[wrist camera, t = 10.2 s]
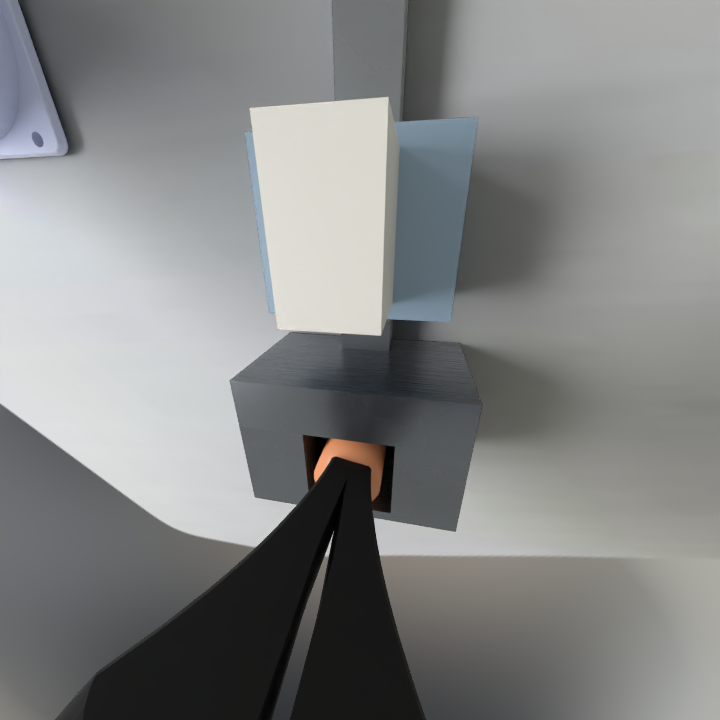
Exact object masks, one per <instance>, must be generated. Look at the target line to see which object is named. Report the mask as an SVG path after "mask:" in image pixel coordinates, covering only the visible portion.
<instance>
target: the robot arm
mask: <svg viewBox="0 0 720 720" xmlns="http://www.w3.org/2000/svg"><path fill="white" fill-rule="evenodd" d="M67 150H68V144H67V140H66V137H65V134H64V131H63V129H62V126H61V123H60V120H59V117H58V114H57V111H56V108H55V106H54V103H53V100H52V97H51V94H50V91H49V88H48V85H47V83H46V80H45V77H44V74H43V71H42V68H41V65H40V63H39V60H38V57H37V54H36V51H35V48H34V45H33V42H32V40H31V37H30V34H29V31H28V28H27V25H26V22H25V20H24V17H23V14H22V11H21V8H20V5H19V2H18V0H0V159H9V158H27V157H45V156H62V155H65V154H66V152H67ZM333 531H334V533H333ZM332 534H333V538H332V543H331V548H330V554H329V559H328V564H327V569H326V574H325V580H324V585H323V590H322V595H321V600H320V606H319V610H318V614H317V619H316V623H315V627H314V631H313V635H312V638H311V642H310V646H309V650H308V654H307V657H306V661H305V665H304V669H303V673H302V676H301V680H300V684H299V688H298V692H297V695H296V700H295V703H294V707H293V711H292V714H291V718H290V720H426V719H425V716H424V713H423V710H422V707H421V704H420V701H419V698H418V695H417V692H416V689H415V686H414V683H413V680H412V676H411V673H410V670H409V667H408V664H407V661H406V657H405V654H404V651H403V648H402V644H401V641H400V638H399V634H398V631H397V627H396V624H395V620H394V616H393V612H392V609H391V605H390V601H389V597H388V593H387V589H386V584H385V580H384V576H383V571H382V567H381V561H380V556H379V550H378V545H377V539H376V533H375V525H374V518H373V509H372V497H371V468H370V467H369V466H367V465H363V464H360V463H356V462H353V461H349V460H346V459H343V458H339V457H336V456H335V457H333V458H331V460H330V462H329V464H328V465H327V467H326V468H325V470H324V471H323V473H322V474H321V476H320V477H319V478H318V480H317V481H316V482H315V484H314V485H313V486H312V488H311V489H310V490H309V491H308V492H307V494H306V495H305V496H304V497H303V498H302V500H301V501H300V502H299V503H298V504H297V506H296V507H295V508H294V509H293V510H292V511H291V512H290V513H289V514H288V515H287V516H286V518H285V519H284V520H283V521H282V522H281V523H280V524H279V525H278V526H277V527H276V528H275V529H274V530H273V531H272V532H271V533H270V534H269V535H268V536H267V537H266V538H265V539H264V540H263V541H262V542H261V543H260V544H259V545H258V546H257V547H256V548H255V549H254V550H253V551H252V552H251V553H250V554H248V555H247V556H246V557H245V558H244V559H243V560H242V561H241V562H239V563H238V564H237V565H236V566H235V567H234V568H233V569H231V570H230V571H229V572H228V573H227V574H226V575H225V576H223V577H222V578H221V579H220V580H219V581H218V582H216V583H215V584H214V585H213V586H211V587H210V588H209V589H208V590H207V591H206V592H204V593H203V594H202V595H200V596H199V597H198V598H197V599H195V600H194V601H193V602H191V603H190V604H189V605H188V606H186V607H185V608H184V609H182V610H181V611H180V612H179V613H177V614H176V615H175V616H174V617H172V618H171V619H170V620H168V621H167V622H166V623H164V624H163V625H162V626H161V627H159V628H158V629H156V630H155V631H154V632H152V633H151V634H149V635H148V636H146V637H145V638H144V639H142V640H141V641H140V642H138V643H137V644H135V645H134V646H133V647H131V648H130V649H128V650H127V651H125V652H124V653H123V654H121V655H120V656H119V657H117V658H116V659H114V660H113V661H112V662H110V663H109V664H107V665H106V666H104V667H103V668H102V669H100V670H99V671H98V672H97V673H96V674H95V675H94V676H93V677H92V678H91V679H90V680H89V681H88V683H87V684H86V685H85V686H84V687H83V688H82V689H81V690H80V691H79V692H78V694H77V695H76V696H75V697H74V698H73V699H72V701H71V702H70V703H69V704H68V705H67V706H66V708H65V709H64V710H63V711H62V712H61V713H60V715H59V716H58V717H57V718H56V719H55V720H272V717H273V714H274V710H275V707H276V703H277V700H278V696H279V693H280V690H281V687H282V683H283V680H284V676H285V673H286V670H287V666H288V663H289V659H290V656H291V653H292V649H293V646H294V642H295V639H296V636H297V632H298V629H299V625H300V622H301V619H302V616H303V613H304V610H305V607H306V604H307V601H308V598H309V596H310V593H311V590H312V588H313V585H314V582H315V580H316V577H317V574H318V572H319V569H320V566H321V564H322V561H323V558H324V556H325V553H326V550H327V548H328V545H329V542H330V540H331V537H332Z"/></svg>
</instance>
